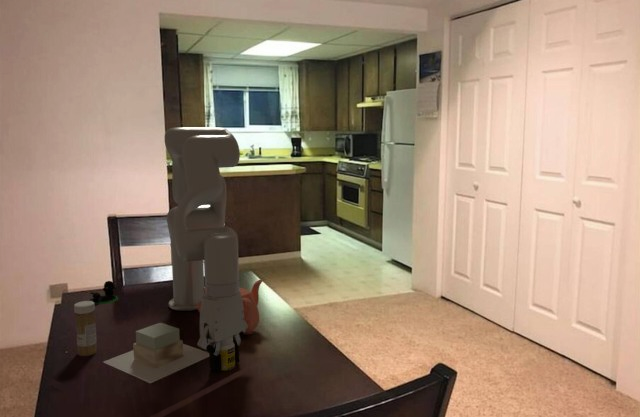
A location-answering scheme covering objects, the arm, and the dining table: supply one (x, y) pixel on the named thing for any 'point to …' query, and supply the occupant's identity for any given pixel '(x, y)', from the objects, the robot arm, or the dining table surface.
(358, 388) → the dining table surface
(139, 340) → the sage block
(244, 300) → the teapot
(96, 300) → the toy figurine
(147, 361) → the birch block
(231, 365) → the supplement bottle
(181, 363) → the base plate
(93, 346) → the sprinkles bottle
